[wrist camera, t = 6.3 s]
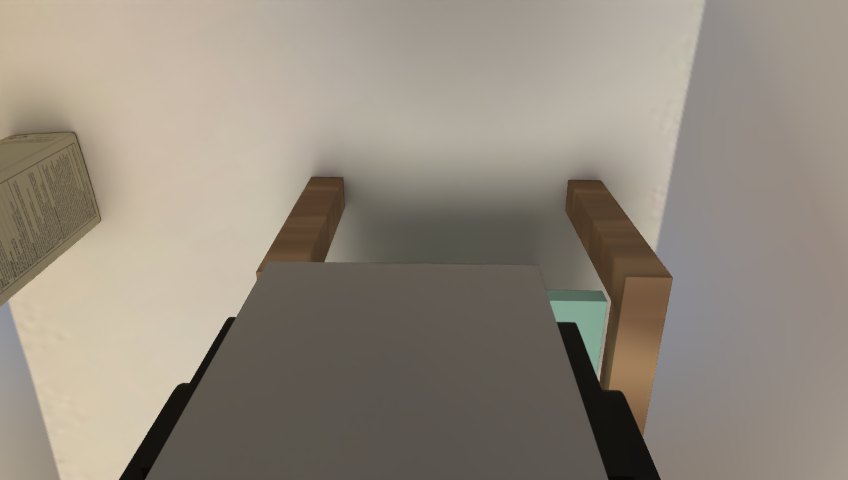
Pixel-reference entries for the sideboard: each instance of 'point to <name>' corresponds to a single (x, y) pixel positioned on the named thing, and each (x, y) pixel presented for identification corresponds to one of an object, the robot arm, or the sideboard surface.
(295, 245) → the frame
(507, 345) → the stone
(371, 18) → the sideboard surface
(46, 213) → the skincare box
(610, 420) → the robot arm
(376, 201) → the sideboard surface
